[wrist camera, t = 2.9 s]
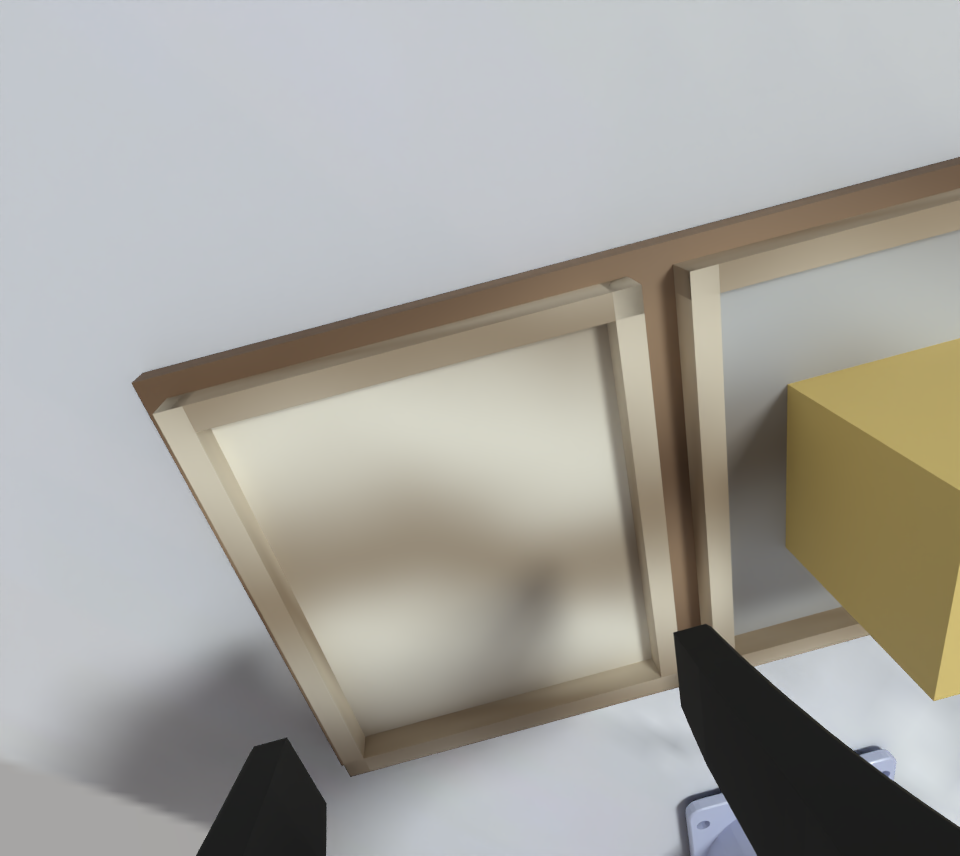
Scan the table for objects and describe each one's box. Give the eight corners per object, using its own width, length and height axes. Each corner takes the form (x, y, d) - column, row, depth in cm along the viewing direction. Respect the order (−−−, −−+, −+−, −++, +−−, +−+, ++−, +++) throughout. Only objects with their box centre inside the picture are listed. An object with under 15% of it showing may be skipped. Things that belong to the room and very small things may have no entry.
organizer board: (1280, 491, 19) (1343, 516, 18) (343, 747, 18) (339, 791, 17) (1511, 11, 13) (1631, -3, 12) (142, 372, 13) (114, 398, 11)
